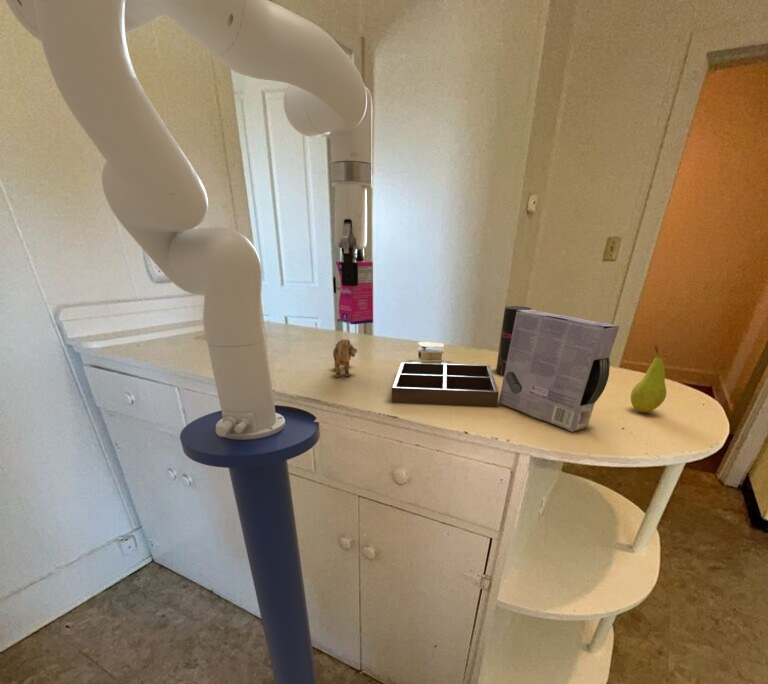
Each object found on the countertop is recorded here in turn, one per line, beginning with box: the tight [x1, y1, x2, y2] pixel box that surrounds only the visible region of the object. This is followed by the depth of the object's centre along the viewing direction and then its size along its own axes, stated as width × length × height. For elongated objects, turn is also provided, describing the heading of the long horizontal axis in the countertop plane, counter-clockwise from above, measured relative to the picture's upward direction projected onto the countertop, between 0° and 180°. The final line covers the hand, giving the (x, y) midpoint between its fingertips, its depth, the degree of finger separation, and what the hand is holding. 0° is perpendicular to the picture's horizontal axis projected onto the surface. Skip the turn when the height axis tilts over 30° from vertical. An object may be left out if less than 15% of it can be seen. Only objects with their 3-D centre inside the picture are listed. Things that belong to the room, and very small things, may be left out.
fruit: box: [630, 345, 667, 414], centre depth 80 cm, size 6×6×12 cm
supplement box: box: [334, 260, 374, 325], centre depth 89 cm, size 6×6×12 cm
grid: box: [391, 361, 500, 408], centre depth 95 cm, size 21×21×3 cm
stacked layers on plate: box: [410, 341, 449, 364], centre depth 112 cm, size 10×9×6 cm
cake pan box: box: [498, 309, 620, 433], centre depth 77 cm, size 19×5×18 cm, turn 33°
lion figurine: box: [332, 338, 358, 378], centre depth 105 cm, size 15×5×9 cm, turn 15°
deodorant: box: [495, 305, 532, 376], centre depth 104 cm, size 6×6×15 cm
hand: (353, 283), depth 88 cm, fingers closed on supplement box, 8 cm apart
